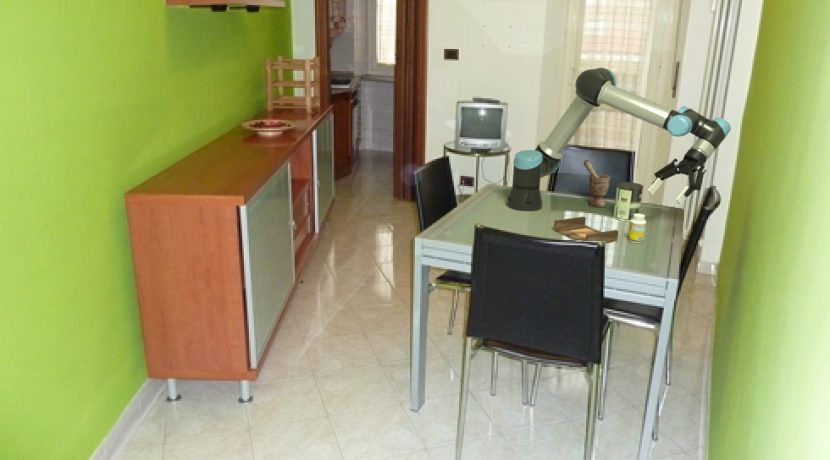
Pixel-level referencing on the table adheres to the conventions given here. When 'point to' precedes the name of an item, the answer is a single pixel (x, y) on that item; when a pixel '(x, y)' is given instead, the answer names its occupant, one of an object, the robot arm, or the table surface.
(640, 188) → the coffee can
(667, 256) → the table surface
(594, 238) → the wooden tray with rails
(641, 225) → the supplement bottle
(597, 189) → the mortar and pestle
